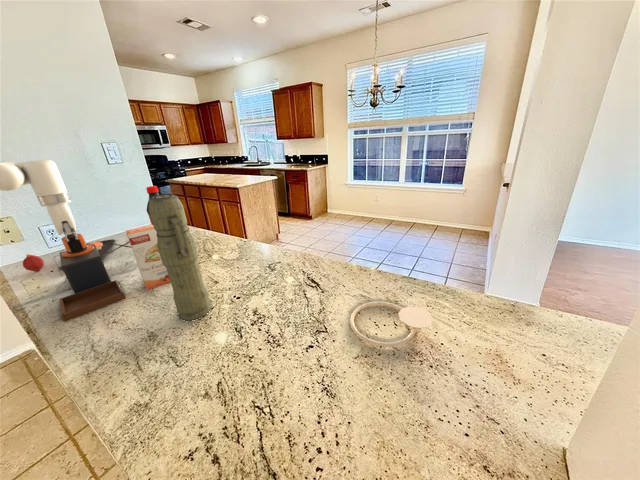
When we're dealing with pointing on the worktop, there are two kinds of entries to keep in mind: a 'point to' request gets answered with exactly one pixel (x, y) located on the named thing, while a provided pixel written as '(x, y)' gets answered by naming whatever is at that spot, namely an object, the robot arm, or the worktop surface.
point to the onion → (33, 263)
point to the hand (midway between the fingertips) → (77, 248)
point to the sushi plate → (105, 247)
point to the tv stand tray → (90, 300)
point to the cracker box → (148, 256)
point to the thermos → (179, 256)
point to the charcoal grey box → (85, 270)
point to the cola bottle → (152, 192)
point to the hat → (86, 249)
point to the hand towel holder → (408, 315)
